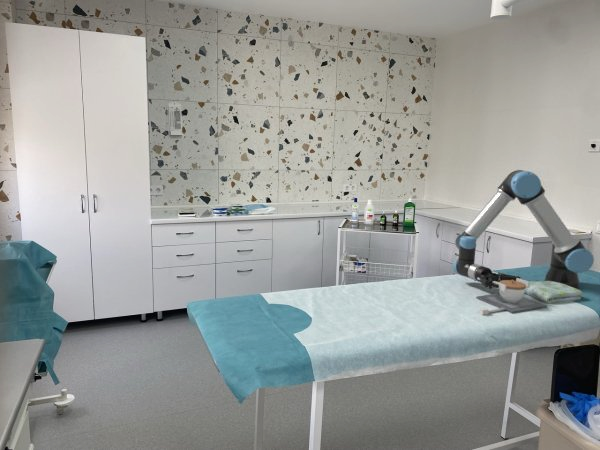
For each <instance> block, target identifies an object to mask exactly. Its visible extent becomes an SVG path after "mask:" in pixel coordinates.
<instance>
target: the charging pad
mask: <svg viewBox="0 0 600 450" xmlns="http://www.w3.org/2000/svg"><path fill="white" fill-rule="evenodd" d="M475 299H477V300H478V301H481V302H485V303H486V304H489V305H491V306H493V307H496V308H492V309H488V308H486V307H480V308H478V311H477V314H479V315H481V316H484V315H485V316H487V315H489V314H490V313H497V312H501V311H502V312H503V311H505V312H508V313H510V314H515V313H522V312H528V311H534V310H540V309H546V308H548V305H546V304H543V303H542V302H539V301H535V300H533V299H530V298H528V297H525V296H523V298H522V299H521V300H520V301H518V303H509V302H506V301H504V300H503V298H502V297H501V296H500V294H499V292H498V293H493V294H492V293H491V294H485V295H479V296H478V295H477V296H476V297H475Z"/></svg>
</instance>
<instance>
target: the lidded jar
mask: <svg viewBox="0 0 600 450" xmlns="http://www.w3.org/2000/svg"><path fill="white" fill-rule="evenodd" d="M499 283H501V284H504V285H506V292H504V291H501V290H499V289H498V293H499V294H500V296H501V297H502V298H503V300H504V301H506V302H509V303H518V301H520V300H521V299H522V298H523V297H525V294H526V293H525V288H526V285H525V284H524V283H521V282H518V281H514V280H502V281H500V282H499Z"/></svg>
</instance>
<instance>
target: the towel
mask: <svg viewBox="0 0 600 450" xmlns="http://www.w3.org/2000/svg"><path fill="white" fill-rule="evenodd" d="M527 281H528V280H527ZM528 282H530V286H529V288H525V294H526V295H528V296H531V297H533V298H535V299H537V300H540V301H542V302H544V303H546V304H554V303H556V304H557V303H563V302H573V301H579V300H582V297H581V296H582V295H583V294H584V293H583V292H582V290H580V289H578V288H573V287H570V286H567V285H565V284H562V283H558V282H553V281H545V280H543V281H542V280H540V281H537V280H533V281H531V280H529V281H528Z"/></svg>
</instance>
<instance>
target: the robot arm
mask: <svg viewBox="0 0 600 450" xmlns="http://www.w3.org/2000/svg"><path fill="white" fill-rule="evenodd" d="M496 189H497V191H496V193H495V194H494V195H493V196H492V198H490V200H489V201H488V203H487V204H486V205H484V207H483V208H482V209H481V210H480V212H479V213H478V214H477V215H476V216H475V218H474V219H473V220H472V221H471V223H470V224H469V225H468V226H467V227H466V228H465V229H464V230H463V231H462V233H460V234H459V235H457V237H456V238H455V240H454V241H455V243H454V244H455V246H456V248H457V249H458V258H457V259H455V260H454V262H453V264H452V270H453V272H454V273H456V274H458V275H460V276H463V277H465V278H468V279H471V280H474V282H478V283H480V284H481V285H482V286H484V287H485V288H488V289H490V290H491V289H493V288H494V289H496V290H498V291H499V290H501V291H504V292H506V285H504V284H501V283H499V282H500V281H502V280H514V281H518V282H521V283H524V284H525V285H526V288H529V286H530V282H528V280H525V279H521V276H519V275H512V274H506V273H501V272H498V273H496V272H493V270H492V269H491V268H489V267H488V266H487V267H486V266H483V265H480V264H478V263H475V261H476V249H477V240H478V239H479V238H480V237H481V235H482V234H483V233H484V232H485V231H486V230H487V229H488V227H489V226H490V225H491V224H492V223H493V222H494V220H495V219H496V218H497V217H498V216H499V215H500V213H502V211H504V209H505V208H506V207H507V206H508V204H509V203H510V202H511V201H512V202H513V201H515V200H516V199H517V200H518V201H519V203H520V204H521V205H523V206H526V207H527V209H528V210H529V211H530V213H531V214H532V215H533V217H534V218H535V219H536V221H537V223H538V224H539V225H540V227H541V228H542V230H543V231H544V233H545V234H546V235H547V237H548V239H550V241H551V242H552V247H551V255H550V256H551V257H550V266H549V268H548V270H547V272H546V275H545V277H544V281H553V282H558V283H562V284H565V285H567V286H570V287H573V288H576V289H578V288H579V287H580V277H579V274H580V273H581V274H582V273H585V272H588V271H589V269H591V268H592V267H593V264H594V260H595V258H594V255H593V254H592V252H591V251H590V250H589V249H588V248H586V246H585V245H584V244H583V242H582V241H581V239H580V238H578V237H574V235H572V233H571V232H570V230H569V229H568V227H567V226H566V225H565V222H564V221H562V219H561V218H560V215H558V213H557V212H556V209H554V208H553V206H552V205H551V202H549V200H548V199H547V198H546V196H545V194H546V189H544V186H543V185H542V181H541V179H540V178H539V176H538V175H537V174H536V173H534V172H532V171H529V170H523V169H517V170H514V171H511V172H510V173H509V174H508V175H507V176H505V178H504V179H503V181H502V183H500V185H499V186H498V187H497V188H496Z"/></svg>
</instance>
